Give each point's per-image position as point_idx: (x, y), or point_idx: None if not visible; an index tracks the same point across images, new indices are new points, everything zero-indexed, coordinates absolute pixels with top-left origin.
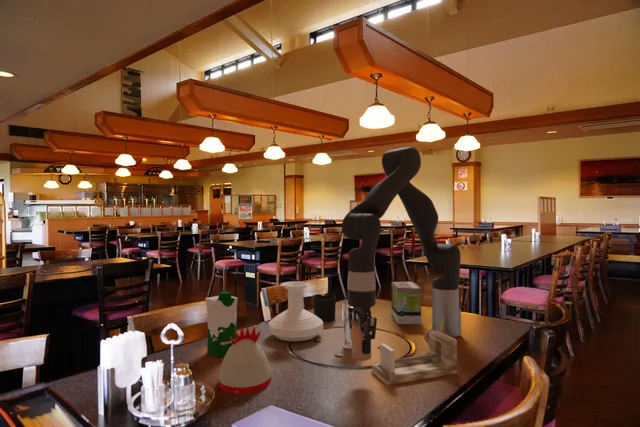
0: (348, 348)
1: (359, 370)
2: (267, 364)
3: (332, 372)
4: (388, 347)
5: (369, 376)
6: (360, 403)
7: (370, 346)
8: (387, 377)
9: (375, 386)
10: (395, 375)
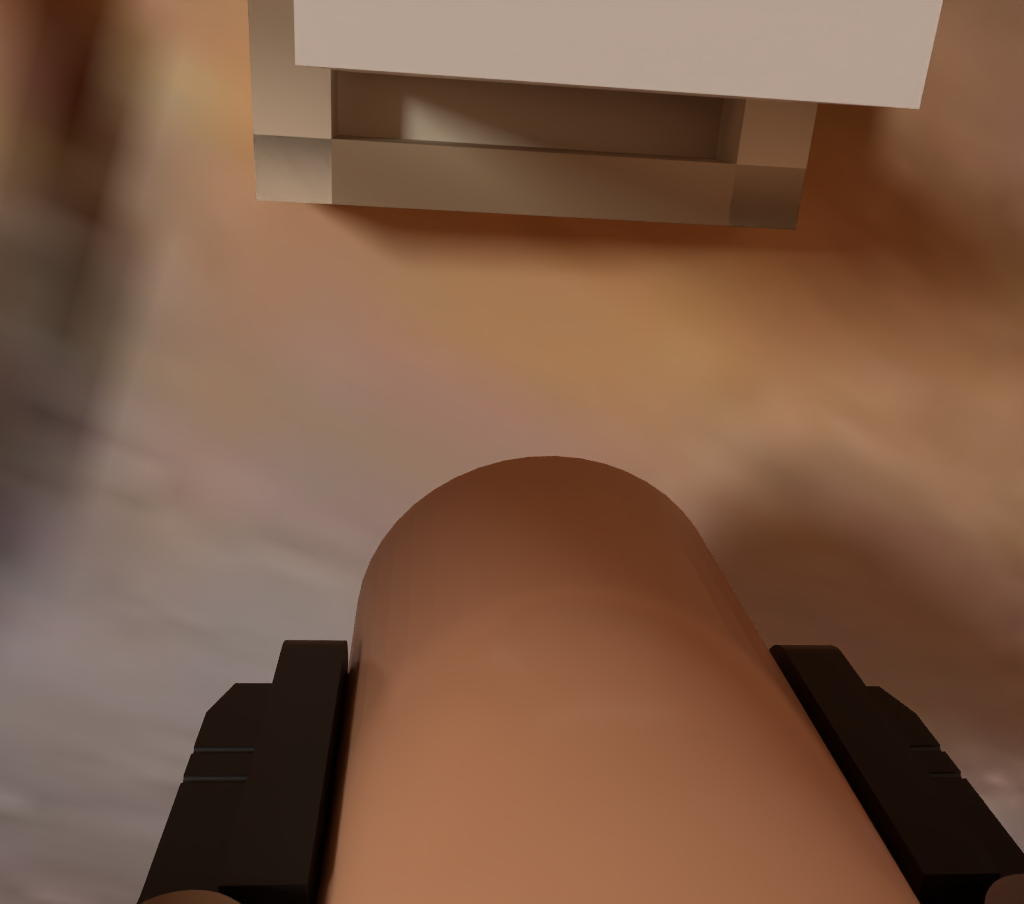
0: None
1: (164, 329)
2: None
3: (133, 666)
4: (679, 5)
5: (413, 293)
6: (952, 669)
7: (902, 737)
8: (792, 212)
9: (716, 366)
10: None
